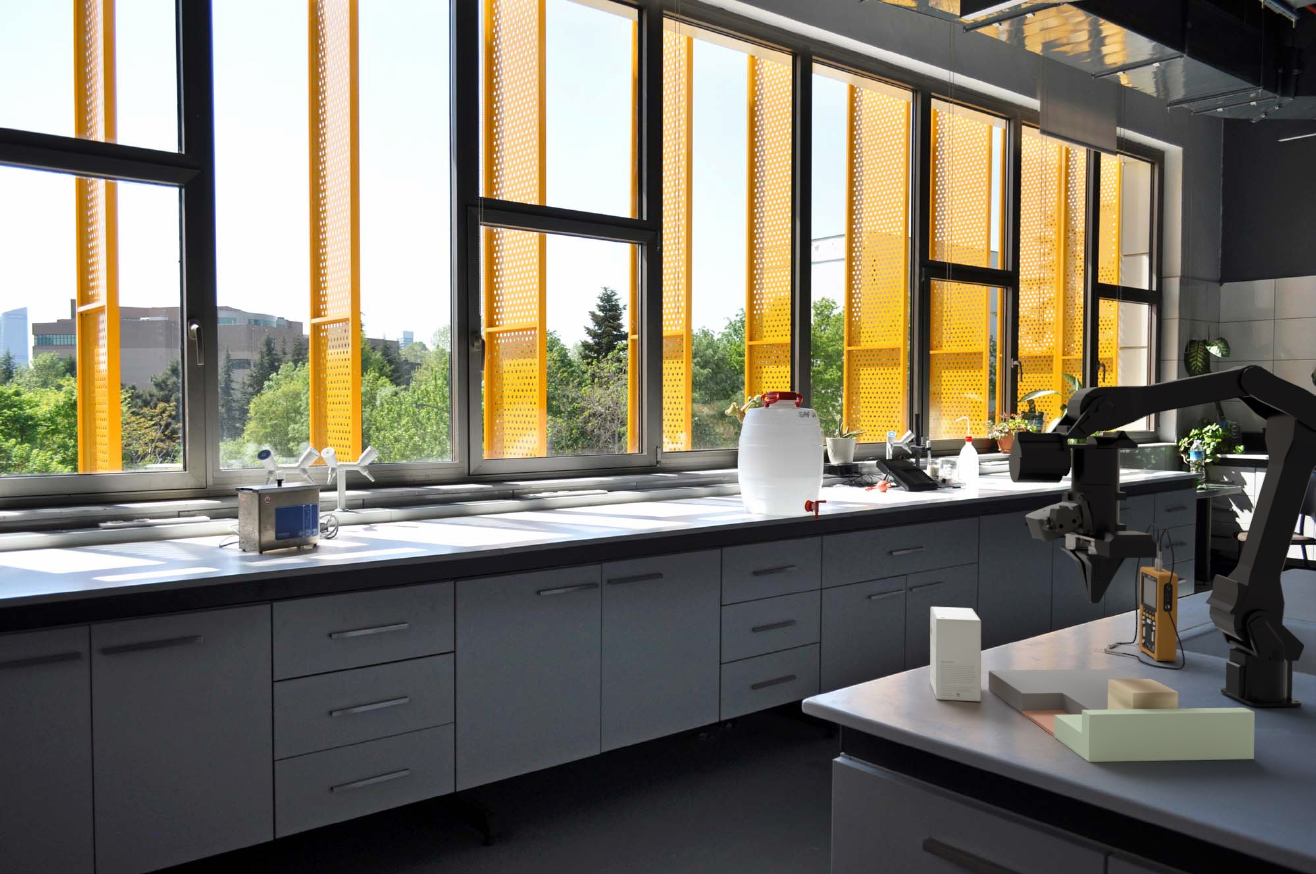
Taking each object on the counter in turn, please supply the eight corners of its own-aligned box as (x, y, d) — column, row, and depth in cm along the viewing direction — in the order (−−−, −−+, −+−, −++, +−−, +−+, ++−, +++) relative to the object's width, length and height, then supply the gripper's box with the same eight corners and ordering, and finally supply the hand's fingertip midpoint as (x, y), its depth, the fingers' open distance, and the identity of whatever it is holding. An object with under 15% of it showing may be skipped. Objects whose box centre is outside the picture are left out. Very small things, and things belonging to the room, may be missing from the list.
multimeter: (1081, 642, 148) (1084, 518, 147) (1148, 645, 146) (1150, 519, 146) (1114, 667, 133) (1116, 529, 132) (1188, 670, 132) (1190, 531, 131)
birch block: (1150, 713, 104) (1150, 678, 104) (1177, 728, 99) (1178, 692, 99) (1107, 714, 104) (1108, 679, 104) (1132, 729, 99) (1133, 692, 99)
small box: (981, 703, 116) (982, 620, 116) (935, 700, 117) (936, 618, 117) (972, 685, 124) (973, 607, 124) (929, 682, 125) (930, 605, 125)
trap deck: (1120, 687, 123) (1120, 650, 123) (1253, 758, 98) (1254, 712, 97) (988, 689, 122) (988, 651, 122) (1088, 761, 97) (1089, 714, 96)
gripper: (1003, 478, 128) (1002, 590, 129) (1072, 489, 110) (1071, 619, 110) (1080, 478, 129) (1078, 589, 130) (1161, 489, 111) (1160, 618, 111)
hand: (1093, 602), depth 120 cm, fingers closed
